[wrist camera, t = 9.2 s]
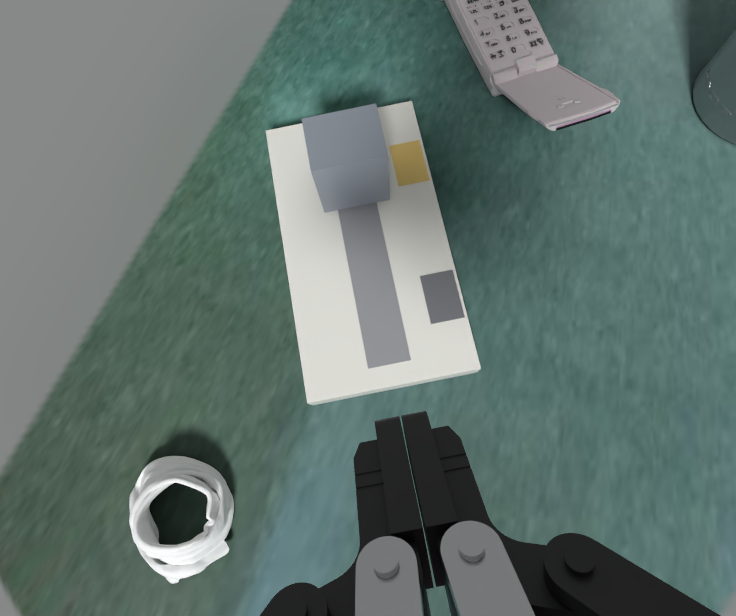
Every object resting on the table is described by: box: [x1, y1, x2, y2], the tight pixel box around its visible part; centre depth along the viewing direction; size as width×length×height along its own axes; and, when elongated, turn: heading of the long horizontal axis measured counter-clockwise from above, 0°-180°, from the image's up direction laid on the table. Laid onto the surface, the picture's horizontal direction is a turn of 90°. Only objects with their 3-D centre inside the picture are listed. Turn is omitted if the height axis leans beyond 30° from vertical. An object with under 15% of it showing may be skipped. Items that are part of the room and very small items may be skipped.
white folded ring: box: [129, 456, 234, 584], centre depth 31 cm, size 8×7×5 cm
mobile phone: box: [440, 0, 620, 131], centre depth 38 cm, size 6×6×25 cm
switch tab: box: [302, 103, 390, 213], centre depth 33 cm, size 5×4×6 cm
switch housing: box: [266, 101, 481, 405], centre depth 36 cm, size 12×22×2 cm, turn 11°
